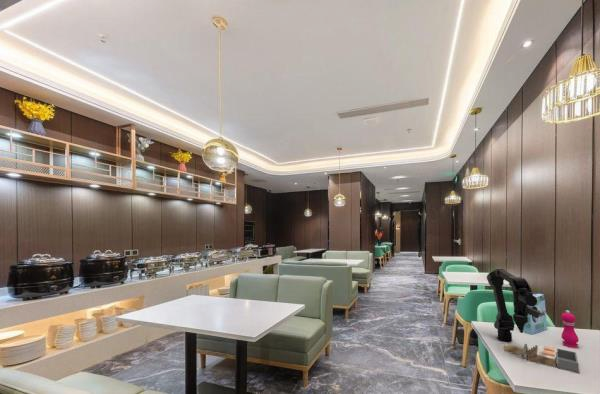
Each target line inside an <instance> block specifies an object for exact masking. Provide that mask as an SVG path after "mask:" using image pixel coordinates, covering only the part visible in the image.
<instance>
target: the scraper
mask: <svg viewBox="0 0 600 394" xmlns="http://www.w3.org/2000/svg"><path fill="white" fill-rule="evenodd" d="M503 351H504V352H507V351H508V353H511V352H512V353H513V354H516V353H517V355H521V356H523V359H524V360H528V353H527V352H528V351H529V349H528V344H527V343H524V347H521V346H520V347H519V346H515V345H511V344H506V343H504V344H503Z"/></svg>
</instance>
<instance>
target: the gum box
mask: <svg viewBox="0 0 600 394" xmlns="http://www.w3.org/2000/svg"><path fill="white" fill-rule="evenodd" d="M532 294H533V296H535V297H536V299H537V304H536V305H535V307H537V310H539V311H540V315H539V318H536V317H534V316H532V315H530V314H528V316H527V317H528V323H526V324H524V329H523V333H524V334H527V335H530V336H531V335H535V334H537V333H541V332H544V331H547V330H548V324H547V314H546V313H547V311H546V298H545V297H546V296H545V294H542V293H538V292H536V293H532ZM527 306H529V305H527ZM529 307H533V306H529Z"/></svg>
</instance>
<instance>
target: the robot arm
mask: <svg viewBox="0 0 600 394" xmlns="http://www.w3.org/2000/svg"><path fill="white" fill-rule="evenodd" d="M486 280H487V282H488V285H489V286H490V287H491V288H492V291H493V296H494V300H495V304H496V309H497V314H496V317H495V319H496V320H495V321H494V323H493V326H494V328H495V329H496V330H497V341H502V342H506V343H511V342H512V341H513V335H512V334H513V333H512V332H514V330H515V329H514V328H515V325H516V327H517V329H518V331H519V333H520V334H523V333H524V324H526V323H528V317H527V316H528V314H530V315H532V316H534V317H536V318H539V315H540V311H539V310H537V307H535V305H536V304H537V299H536V297H535V296H533V294H534V293H533V291H532V288H531V286H530V284H529V282H528V281H527V279H526V278H525V277H521V276H515V275H514V274H511V272H509V271H507V270H506V269H503V268H495V269H493V271H491V272H489V273H488V274H487V275H486ZM505 281H506V282H507V283H508V285H509V287H511V289H510V291H511V292H512V300H513V302H512V303H513V304H512V305H513V314H512V315H511V314H510V313H509V312H508V309H507V308H508V307H507V304H506V301H505V296H504V291H503V285H504V284H505V283H504V282H505ZM527 305H529V306H533V307H529V306H527Z"/></svg>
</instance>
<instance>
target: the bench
mask: <svg viewBox="0 0 600 394" xmlns="http://www.w3.org/2000/svg"><path fill="white" fill-rule="evenodd" d="M554 354H555V355H556V349H555V348H554ZM527 361H528V362H533V363H536V364H537V363H538V364H541V365H545V366H550V367H553V368H557V360H556V356H555V357H552V356H547V355H544V346H541V345H535V346H532V347H531V348H530V349H528V353H527Z"/></svg>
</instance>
